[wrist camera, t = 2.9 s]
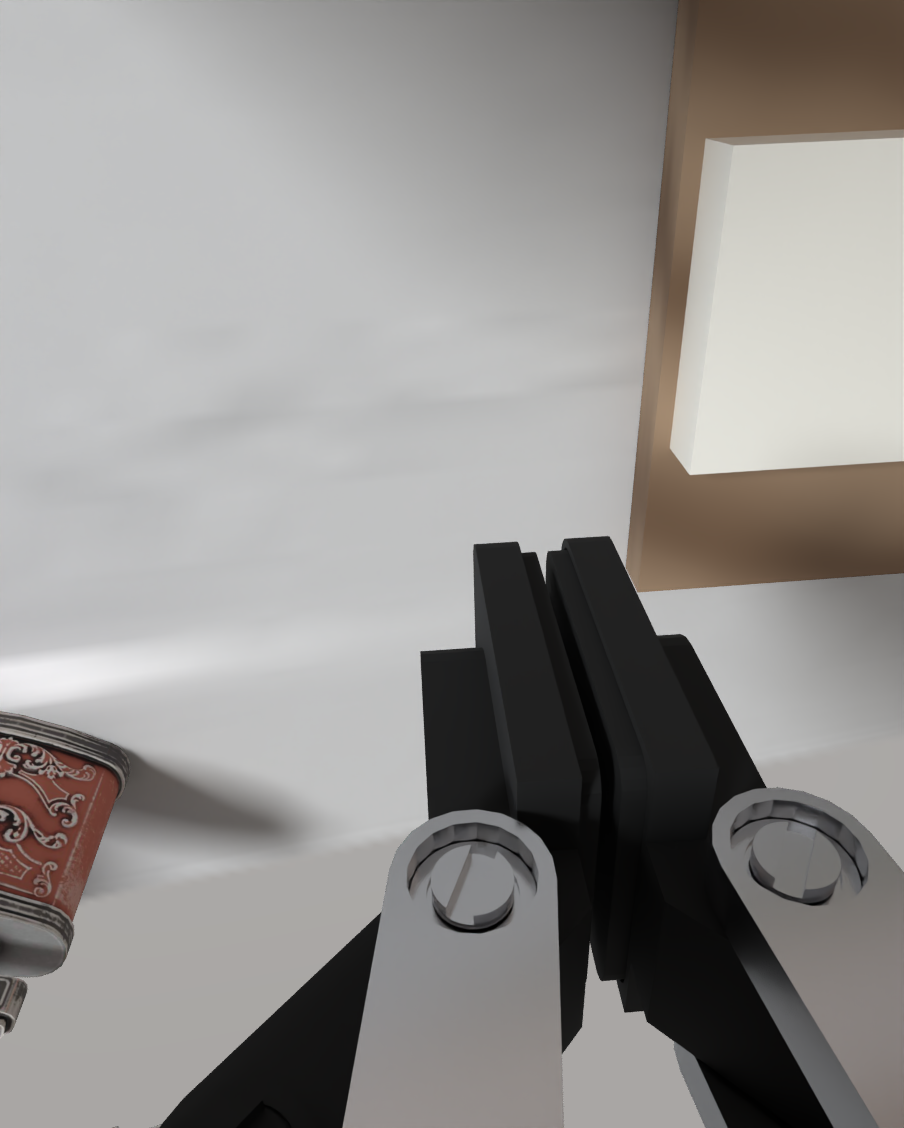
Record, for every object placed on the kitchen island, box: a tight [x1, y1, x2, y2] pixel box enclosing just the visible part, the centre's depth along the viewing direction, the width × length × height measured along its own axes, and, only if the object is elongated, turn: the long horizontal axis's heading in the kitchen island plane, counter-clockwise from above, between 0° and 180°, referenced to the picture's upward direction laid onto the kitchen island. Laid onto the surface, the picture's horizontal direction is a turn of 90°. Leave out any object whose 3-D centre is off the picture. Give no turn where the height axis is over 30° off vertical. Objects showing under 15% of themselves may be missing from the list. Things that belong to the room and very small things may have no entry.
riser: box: [626, 0, 904, 592], centre depth 22 cm, size 18×10×2 cm, turn 2°
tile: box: [670, 129, 904, 475], centre depth 21 cm, size 8×6×2 cm
